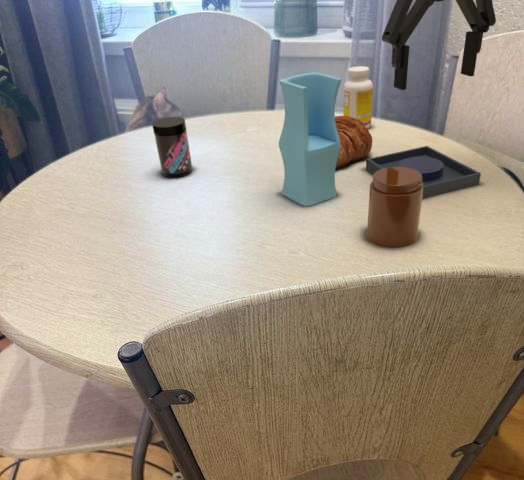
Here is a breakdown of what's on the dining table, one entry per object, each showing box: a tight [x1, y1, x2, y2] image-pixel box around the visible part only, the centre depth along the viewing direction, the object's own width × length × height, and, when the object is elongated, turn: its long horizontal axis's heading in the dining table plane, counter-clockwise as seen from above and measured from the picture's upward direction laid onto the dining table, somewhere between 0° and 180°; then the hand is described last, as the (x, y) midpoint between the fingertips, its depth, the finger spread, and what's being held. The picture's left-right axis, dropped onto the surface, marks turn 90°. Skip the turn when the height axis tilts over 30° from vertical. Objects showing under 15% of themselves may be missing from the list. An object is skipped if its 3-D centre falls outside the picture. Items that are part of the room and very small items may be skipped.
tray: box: [365, 145, 482, 199], centre depth 103 cm, size 17×14×2 cm
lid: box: [398, 157, 444, 182], centre depth 103 cm, size 9×8×2 cm
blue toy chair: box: [278, 71, 343, 207], centre depth 94 cm, size 8×8×20 cm
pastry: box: [335, 115, 373, 171], centre depth 112 cm, size 17×15×8 cm
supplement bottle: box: [342, 65, 374, 130], centre depth 125 cm, size 7×7×13 cm
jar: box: [366, 167, 424, 248], centre depth 83 cm, size 8×8×10 cm
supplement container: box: [151, 116, 193, 178], centre depth 111 cm, size 7×7×10 cm
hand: (434, 81), depth 93 cm, fingers open, 13 cm apart
